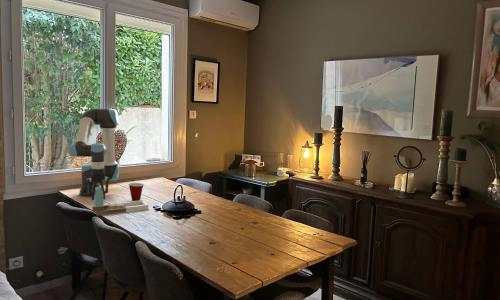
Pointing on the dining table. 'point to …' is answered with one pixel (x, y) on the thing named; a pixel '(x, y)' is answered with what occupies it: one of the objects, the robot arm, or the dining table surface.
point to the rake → (99, 196)
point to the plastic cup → (135, 191)
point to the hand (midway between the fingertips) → (98, 204)
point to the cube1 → (111, 206)
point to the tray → (135, 206)
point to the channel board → (105, 212)
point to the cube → (119, 206)
